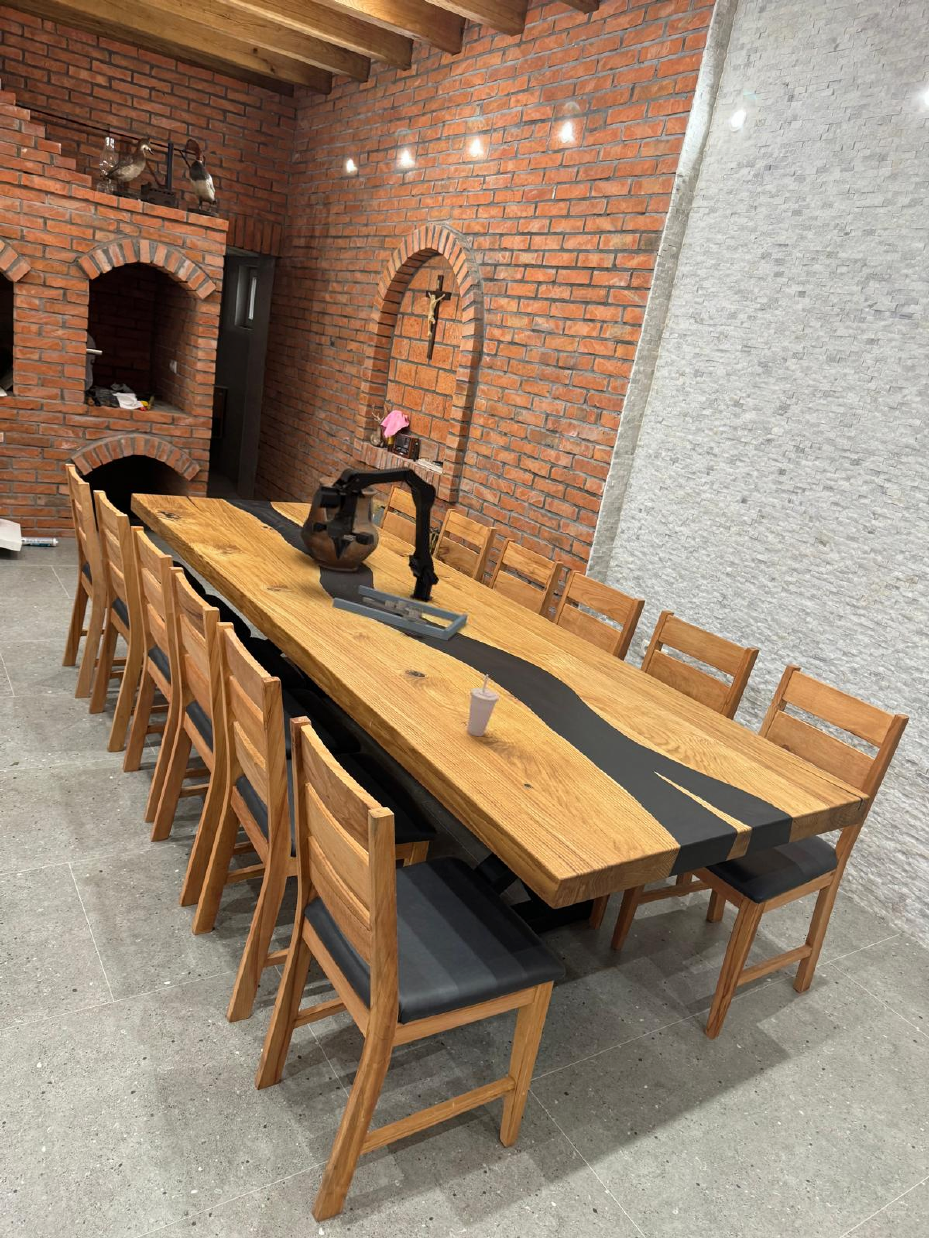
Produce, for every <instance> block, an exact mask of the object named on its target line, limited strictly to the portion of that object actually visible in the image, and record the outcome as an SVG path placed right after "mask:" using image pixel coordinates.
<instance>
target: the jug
mask: <svg viewBox="0 0 929 1238" xmlns="http://www.w3.org/2000/svg"><path fill="white" fill-rule="evenodd" d="M337 479H338V478H335V477H331V476H330V477H326V476H325V477H321V478H318V480H317V482H318V483H319V485H324V486H329V487H332V485H333V484H334V483H335V482H336V481H337ZM343 487H345V486H343ZM362 492H363V494H364V495H365V496H366V498H359V499H358V505H357V511H356V514H357V518H355V522H354V527H355V530H354V531H353V532H355V533H360V532H367V533H370V534H373V536H374V541H373V543H372V544H369V545H362V544H359V543H357V542H356V541H354V542H352V543H351V544H350V545H349V546H348V548H347V549H346V551H345V552H344V554H343V556H342V557H341V559H337V557H336V552H335V546H334V543H333V541H332V539H331V538H329V537H328V535H327V531H325V530H324V531H322V532H316V531H313V530H312V525H313V523H314V522H316V521H319V520H323V521H327V522H330V521H331V520H333V519H334V516H335V513H336V512H337V510H338V508H337V507H336V509H326V508H316V507H315V505H314V498H313V500H312V502H311V505H310V508H309V513H308V517H307V518H306V520H304V523H303V525H302V527H301V530H300V537H301V539H302V541H303V544H304V545H305V547H306V549H307V550H308V552H309V553H310V554H311V556H312V557H313V559H312V562H313V563H314V564H316V565H317V566H319V567H322V568H324V569H328V570H332V571H336V572H355V571H357V570H358V569H359V566H360V565H361V564H362V563H363V562H364V561H365V560H366V559H367V558H369V557H370V555H372V554H373V553H374V552H375V550H377V548H378V545H379V543H380V535H379V532H378V530H377V528H376V527H375V526H374V499H373V497H374V496H376V495H377V494H378V489H376V488H374V487H373V486H372V485H371V486H369V487H367V488H365V489H362Z"/></svg>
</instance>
